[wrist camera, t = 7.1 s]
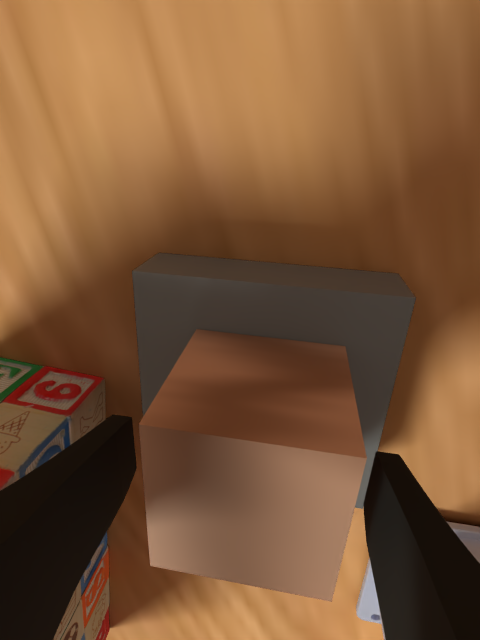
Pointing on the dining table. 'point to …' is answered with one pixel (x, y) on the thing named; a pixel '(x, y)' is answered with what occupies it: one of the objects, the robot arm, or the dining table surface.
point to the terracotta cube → (253, 462)
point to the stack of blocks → (43, 444)
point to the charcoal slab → (276, 320)
